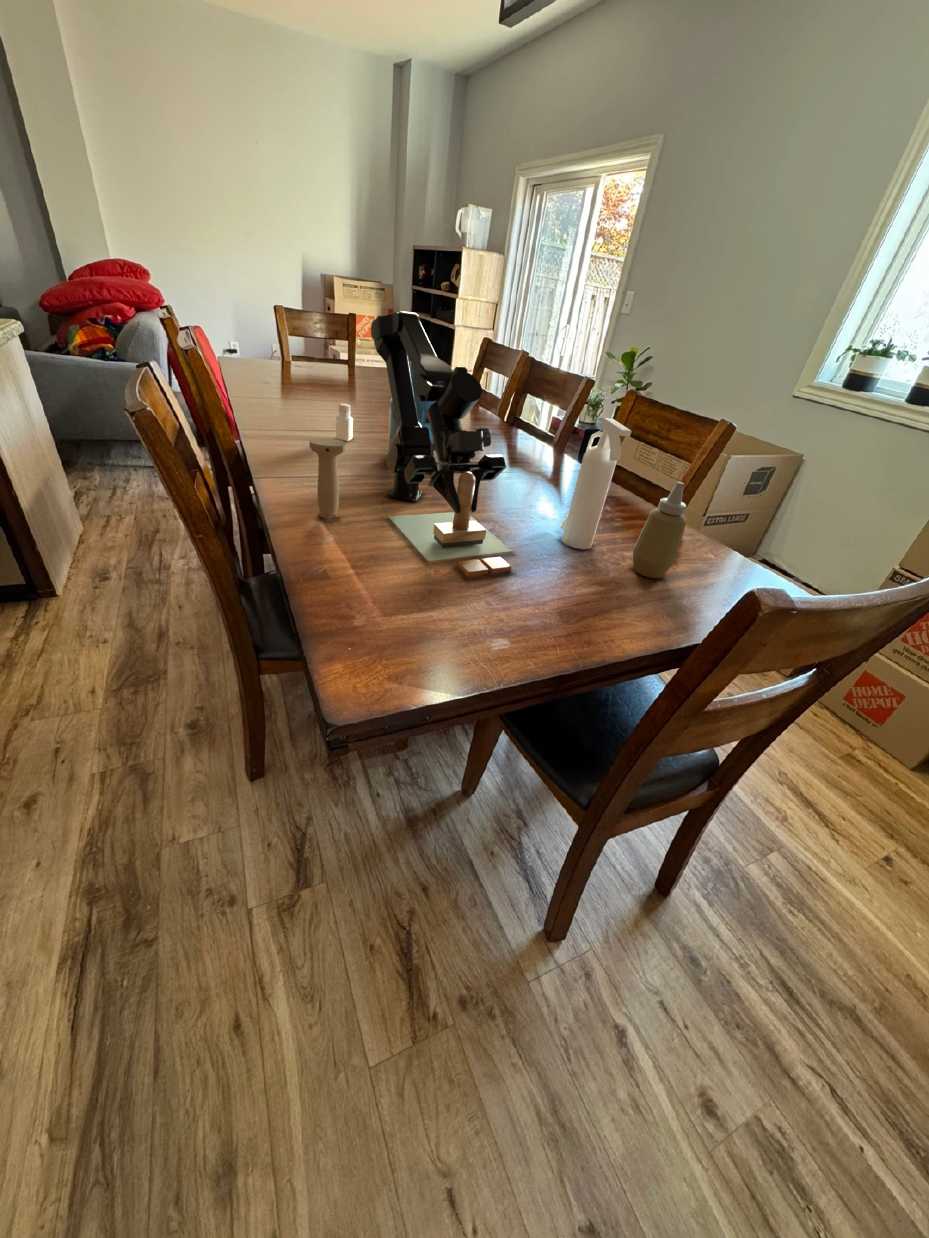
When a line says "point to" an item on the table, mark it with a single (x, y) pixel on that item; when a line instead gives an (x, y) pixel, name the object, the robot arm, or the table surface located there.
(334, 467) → the handle
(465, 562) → the block
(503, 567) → the block
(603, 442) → the white spray bottle
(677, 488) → the squeeze bottle
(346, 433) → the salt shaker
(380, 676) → the table surface
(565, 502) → the table surface
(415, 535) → the mat
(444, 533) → the rubber stamp
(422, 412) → the blue bottle
